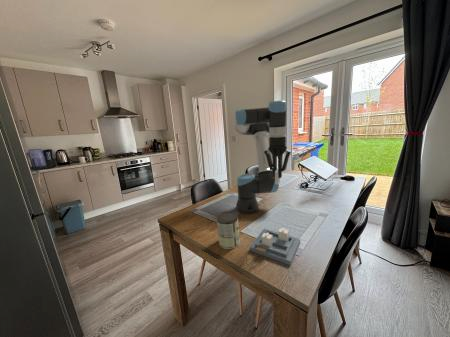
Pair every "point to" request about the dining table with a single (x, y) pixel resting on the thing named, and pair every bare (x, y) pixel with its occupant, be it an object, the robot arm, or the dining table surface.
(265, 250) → the switch board
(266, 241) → the tab
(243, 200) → the robot arm
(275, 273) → the dining table surface
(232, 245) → the coffee can
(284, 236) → the tab
